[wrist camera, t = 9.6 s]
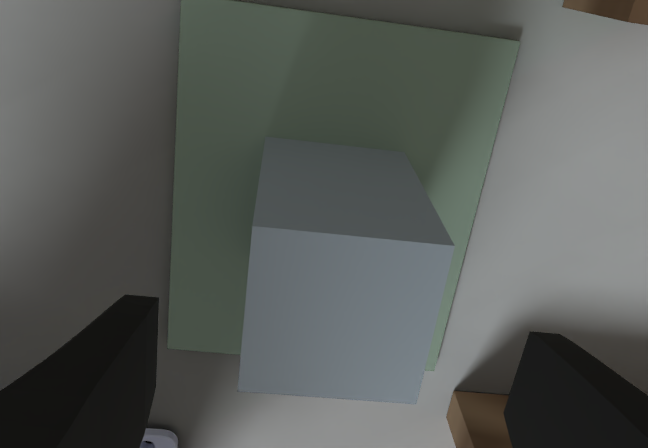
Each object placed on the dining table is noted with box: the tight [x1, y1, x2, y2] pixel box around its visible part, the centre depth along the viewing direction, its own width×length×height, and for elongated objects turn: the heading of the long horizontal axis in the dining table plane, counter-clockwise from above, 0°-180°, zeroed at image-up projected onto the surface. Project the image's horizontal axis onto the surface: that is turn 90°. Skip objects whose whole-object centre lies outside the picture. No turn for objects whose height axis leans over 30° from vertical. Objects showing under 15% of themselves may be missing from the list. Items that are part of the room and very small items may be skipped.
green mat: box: [167, 0, 520, 371], centre depth 18 cm, size 9×11×1 cm
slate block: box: [237, 137, 455, 404], centre depth 15 cm, size 4×4×6 cm
